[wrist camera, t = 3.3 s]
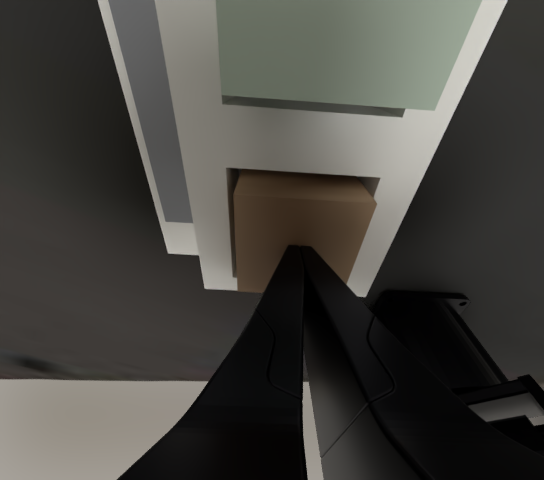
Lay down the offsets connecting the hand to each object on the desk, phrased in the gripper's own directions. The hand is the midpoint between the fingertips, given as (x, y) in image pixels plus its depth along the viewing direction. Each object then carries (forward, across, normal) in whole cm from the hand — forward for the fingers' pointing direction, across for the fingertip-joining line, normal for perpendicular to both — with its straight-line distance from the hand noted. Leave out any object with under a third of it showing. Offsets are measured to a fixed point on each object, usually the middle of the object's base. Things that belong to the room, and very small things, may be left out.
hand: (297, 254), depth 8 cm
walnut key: (+3, 0, 0) cm, 3 cm away
